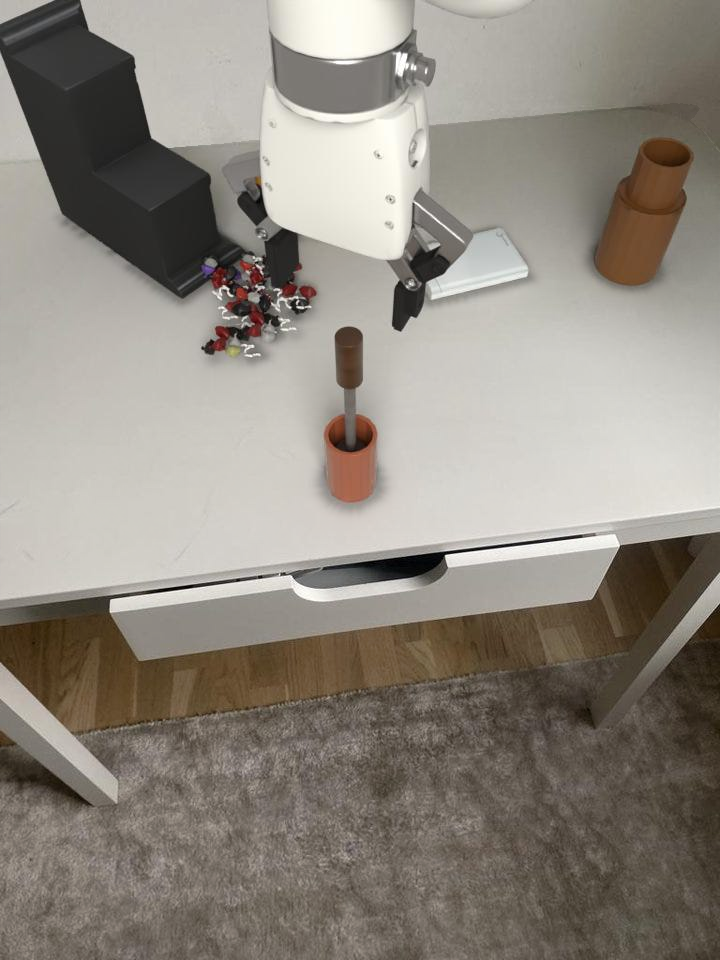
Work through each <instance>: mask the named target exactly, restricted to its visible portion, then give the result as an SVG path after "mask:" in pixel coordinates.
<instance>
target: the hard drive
mask: <svg viewBox="0 0 720 960" xmlns="http://www.w3.org/2000/svg"><path fill="white" fill-rule="evenodd" d="M426 244H427V246H428V247H429V249H430V250H432V249H434V248H436V247H438V246H440V243H439V242H438V241H435V242H431V243H426ZM406 251H407V250H406ZM406 255H407V257H408V258H409V260H410V261H411V260H412V259H413V258H412V257H411V255H410V254H409V252H408V251H407V253H406ZM529 272H530V271H529V266H528V265H527V263H526V262H525V260H524V258H523V257H522V256H521V254H520V253H519V251H518V249H517V248H516V247H515V245H514V244H513V242H512V241H511V239H510V238H509V236H508V235H507V233H506V232H505V231H504V229H503V228H502V227H497V228H491V229H488V230H484V231H480V232H475V233H473V239H472V240H471V242H470V244H469V245H468V247H467V249H466V250H465V252H464V253H463V254H462V255H461V256H460V257H459V258H458V259H457V260H456V261H455V262H454V263H453V265H451V266H450V267H449V268H448V269H447V271H446V272H445V274H443V275H441V276H439V277H437V278H434V279H432V280H430V281H428V282H426V288H425V294H426V296H427V297H428V299H429V300H431V301H433V300H438V299H440V298H445V297H450V296H453V295H459V294H463V293H467V292H470V291H474V290H478V289H482V288H483V289H484V288H488V287H491V286H495V285H499V284H503V283H507V282H511V281H515V280H520V279H524V278H527V277H528V276H529Z"/></svg>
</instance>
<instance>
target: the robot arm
mask: <svg viewBox="0 0 720 960" xmlns="http://www.w3.org/2000/svg"><path fill="white" fill-rule="evenodd" d="M421 1H422V2H424V3H427V4H429V5H431V6H434V7H436V8H438V9H441V10H443V11H446V12H448V13H450V14H454V15H457V16H461V17H464V18H465V17H466V18H470V19H477V20H478V19H480V20H481V19H483V20H484V19H485V20H486V19H487V20H491V19H497V18H502V17H506V16H509V15H512V14H515V13H517V12H518V11H521V10H522V9H525V7H527V6H528V5H529V4H532V2H534V1H535V0H421ZM266 8H267V9H266V10H267V19H268V34H269V35H268V36H269V37H268V38H269V46H270V47H269V49H270V59H271V66H270V68H269V69H268V70H267V72H266V74H265V77H264V83H263V90H262V91H263V92H262V99H261V107H260V118H259V120H260V121H259V149H257V150H253V151H249V152H245V153H241V154H238V155H233V156H232V157H231V158H229V160H228V161H227V162H226V163H225V164H224V165H223V166H222V167H221V173H222V175H223V176H224V178H225V181H226V182H227V184H228V185H229V188H230V189H231V190H232V193H233V194H234V195H235V194H236V196H237V199H236V203H237V205H238V207H239V208H240V209H241V211H242V212H243V213H244V214H245V215H246V216H247V218H248V219H249V220H250V222H252V223H253V224H254V225H255V227H254V234H255V236H256V237H257V238H258V239H259V240H261V241H263V242H264V243H263V245H264V252H265V257H266V262H267V266H268V267H269V271H270V277H269V279H270V286H271V287H273V288H278V289H279V288H280V287H281V288H282V287H283V286H284V284H285V283H286V282H287V280H288V279H289V278H290V276H291V275H292V274H293V273H295V272H294V271H295V270H296V269H297V267H298V266H299V263H300V249H299V235H301V236H304V237H307V238H310V239H313V240H316V241H319V242H322V243H325V244H328V245H331V246H334V247H337V248H340V249H344V250H346V251H349V252H352V253H356V254H359V255H362V256H365V257H368V258H373V259H375V260H382V261H386V262H387V264H388V265H389V266H390V268H391V269H392V271H393V272H394V274H395V275H396V276H397V279H399V280H398V281H397V283H396V285H394V288H393V302H392V314H391V315H392V318H391V327H392V328H393V330H395V331H398V332H400V333H402V331H403V330H404V329H405V327H406V325H407V324H408V322H409V320H410V319H411V318H414V319H417V318H418V317H419V315H420V314H421V312H422V310H423V307H424V304H425V298H426V297H425V296H426V291H425V288H426V282H428V281H430V280H432V279H434V278H437V277H439V276H441V275H443V274H445V272H446V271H447V269H448V268H449V267H450V266H451V265H453V263H454V262H455V261H456V260H457V259H458V258H459V257H460V256H461V255H462V254H463V253H464V252H465V250H466V249H467V247H468V245H469V244H470V242H471V240H472V239H473V234H474V233H473V231H472V230H471V229H469V228H468V226H466V225H465V224H464V223H462V222H461V221H460V220H458V219H457V218H456V217H455V216H454V215H453V214H451V212H449V211H448V210H447V209H445V207H443V206H442V205H441V204H440V203H438V202H437V201H436V200H435V199H433V198H432V197H431V196H430V195H431V139H430V137H431V136H430V125H429V114H428V106H427V99H426V93H425V88H424V87H427V88H428V87H430V86H431V84H432V83H433V80H434V77H435V73H436V67H437V66H436V65H437V63H436V59H435V58H432V57H427V56H424V53H423V52H420V51H418V47H417V34H418V31H417V29H414V26H415V25H414V24H415V23H414V21H415V8H416V0H266ZM257 177H261V186H262V187H261V186H260V185H258V184H256V183H255V182H256V180H255V179H254V178H257ZM418 229H421V230H422V229H423V230H424V231H425V232H426V233H427V234H429V235H430V236H431V237H433V238H434V239H436V242H439V243H440V246H438V247H436V248H434V249H432V250H430V249H429V247H428V246H427V244H428V243H426V242H425V240H424V239H423V237H422V235H421V233H419V231H418ZM297 233H298V234H297ZM405 250H406V251H408V252H409V254H410V255H411V257H412V258H413V259H412V260H411V261H410V260H409V258H408V257H407V253H406V252H405Z"/></svg>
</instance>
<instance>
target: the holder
mask: <svg viewBox="0 0 720 960" xmlns="http://www.w3.org/2000/svg"><path fill="white" fill-rule="evenodd" d="M356 438H357V439H360V440H361V441H363V442H364V444H365V445H366V448H364V449H362V450H361V451H357V452H344V451H341V450H339V449H337V448H336V445H337V444H338V443H339V442H340V441H341V440H343V439H345V413H342V414H338V415H337V416H335V417H333V418H332V419H331V420H330V421H329V422H328V423H327V424H326V426H325V429H324V432H323V443H324V457H325V472H326V482H327V489H328V490H329V492H330V494H331V495H332V496H333V497H334V498H336V499H337V500H339V501H341V502H344V503H350V504H351V503H353V504H354V503H359V502H363V501H364V500H366V499H368V498H369V497H370V496H371V495H372V494H373V493H374V491H375V488H376V484H377V471H378V470H377V466H378V430H377V426H376V425H375V423H374V422H373V421H372V420H371V419H370V418H369V417H367V416H365V415H362V414H361V413H356Z"/></svg>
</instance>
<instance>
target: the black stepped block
mask: <svg viewBox="0 0 720 960" xmlns="http://www.w3.org/2000/svg"><path fill="white" fill-rule="evenodd" d="M0 55H1V57H2V61H3V62H4V66H5V68H6V71H7V74H8V76H9V79H10V82H11V85H12V87H13V89H14V91H15V95H16V97H17V99H18V102H19V105H20V107H21V110H22V113H23V115H24V119H25V121H26V123H27V127H28V129H29V131H30V134H31V136H32V139H33V142H34V145H35V147H36V150H37V152H38V155H39V157H40V160H41V163H42V166H43V168H44V171H45V173H46V176H47V179H48V181H49V183H50V186H51V189H52V191H53V194H54V197H55V199H56V202H57V205H58V208H59V210H60V212H61V214H62V216H64V217H65V218H67V219H68V220H69V221H70V222H72V223H74V224H75V225H76V226H77V227H80V228H81V229H82V230H84V231H85V232H86V233H87V234H89V235H91V236H92V237H93V238H94V239H96V240H98V241H99V242H101V243H102V244H103V245H104V246H105V247H107V248H109V249H110V250H112V251H113V252H114V253H116V254H117V255H119V256H120V257H122V258H123V259H124V260H125V261H127V262H128V263H130V264H131V265H133V266H135V267H136V268H137V269H138V270H140V271H141V272H142V273H145V274H146V275H147V276H148V277H150V278H151V279H153V280H154V281H156V283H158V284H160V285H161V286H163V287H164V288H166V289H167V290H169V292H172V293H173V294H174V295H175V296H177V297H178V298H180V299H184V298H186V297H187V296H189V295H190V294H191V293H193V292H195V291H196V290H198V289H199V288H200V287H201V286H203V285H205V284H206V283H207V282H209V281H210V280H212V278H213V273H211V274H208V275H207V276H206V278H204V276H205V275H206V273H205V272H204V271H203V270H202V267H201V266H202V265H204V263H203V260H202V259H203V257H205V256H208V255H215V256H216V257H217V258H218V259H219V260H220V262H221V264H222V269H224V270H227V268H228V267H229V266H230V265H233V264H235V263H236V262H238V261H239V260H241V259H240V254H241V253H243V252H246V251H245V249H244V248H243V247H242V246H240V245H239V244H237V243H236V242H235V241H233V240H231V239H230V238H229V237H227V236H225V235H224V234H222V233H221V232H220V231H219V229H218V223H217V218H216V212H215V207H214V202H213V201H214V200H213V196H212V190H211V184H212V175H211V174H210V173H209V172H208V171H206V170H205V169H204V168H201V167H199V166H198V165H196V164H195V163H193V162H191V161H190V160H189V159H186V158H185V157H183V156H182V155H180V154H179V153H177V152H175V151H173V150H172V149H170V148H168V147H167V146H165V145H164V144H162V143H161V142H159V141H157V140H156V139H154V138H153V137H152V134H151V131H150V130H151V129H150V127H149V122H148V118H147V114H146V110H145V105H144V101H143V97H142V93H141V88H140V85H139V82H138V79H137V78H138V77H137V73H136V71H135V70H136V69H137V65H136V58H135V56H134V55H133V54H131V53H130V52H129V51H126V50H125V49H123V48H121V47H120V46H117V45H115V44H114V43H112V42H110V41H108V40H107V39H104V38H103V37H101V36H99V35H97V34H96V33H94V32H92V31H90V28H89V25H88V22H87V19H86V15H85V12H84V9H83V5H82V1H81V0H52V1H49V2H47V3H45V4H43V5H40V6H38V7H36V8H34V9H31V10H29V11H27V12H24V13H22V14H20V15H18V16H15V17H13V18H10V19H8V20H6V21H3V22H1V23H0ZM210 276H212V277H210Z"/></svg>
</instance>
